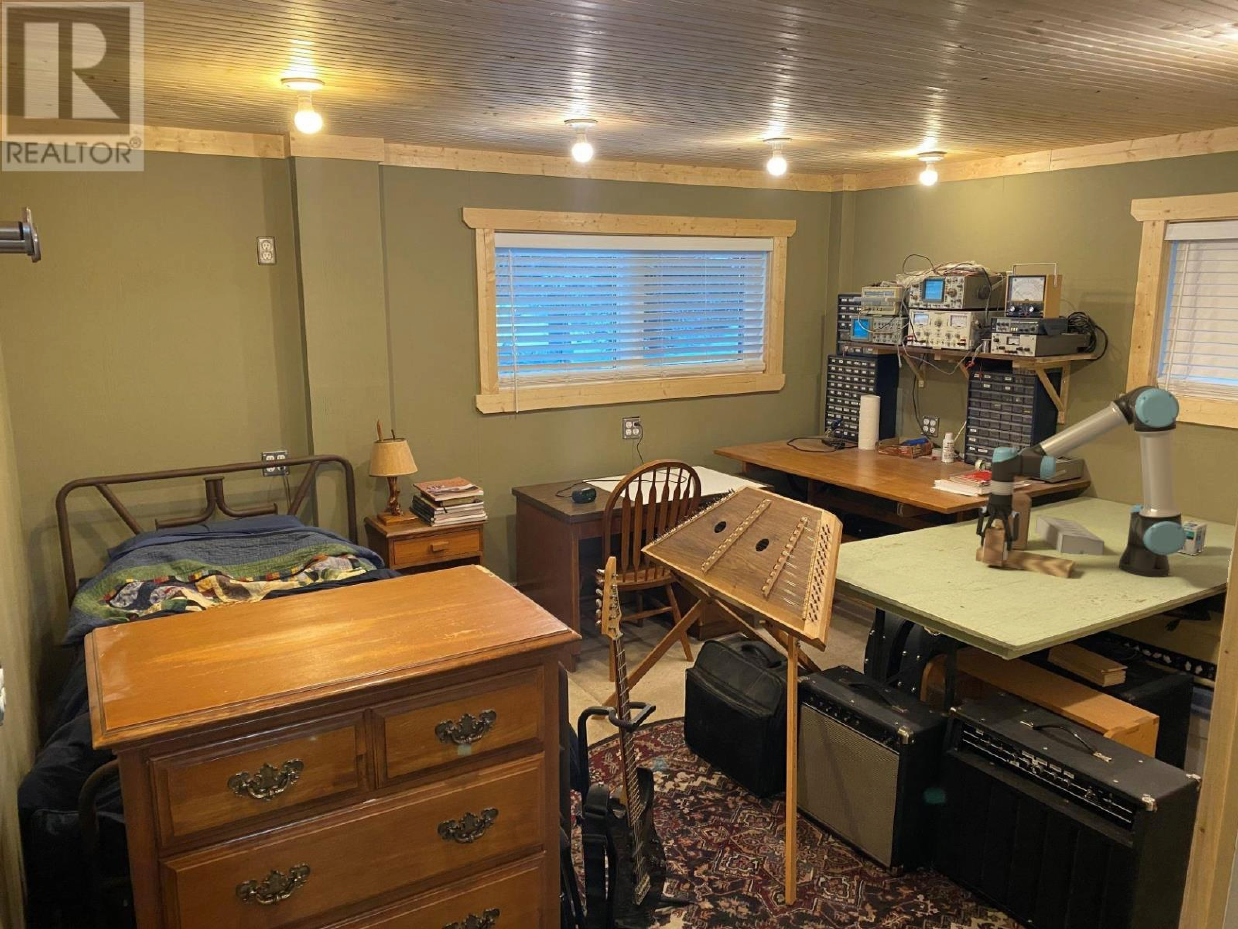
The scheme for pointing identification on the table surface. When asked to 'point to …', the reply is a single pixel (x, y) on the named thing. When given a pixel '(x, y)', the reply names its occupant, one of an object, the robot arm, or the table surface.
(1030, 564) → the plank
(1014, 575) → the table surface
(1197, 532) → the light bulb box
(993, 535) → the wooden box
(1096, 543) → the warehouse
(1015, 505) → the wooden block
